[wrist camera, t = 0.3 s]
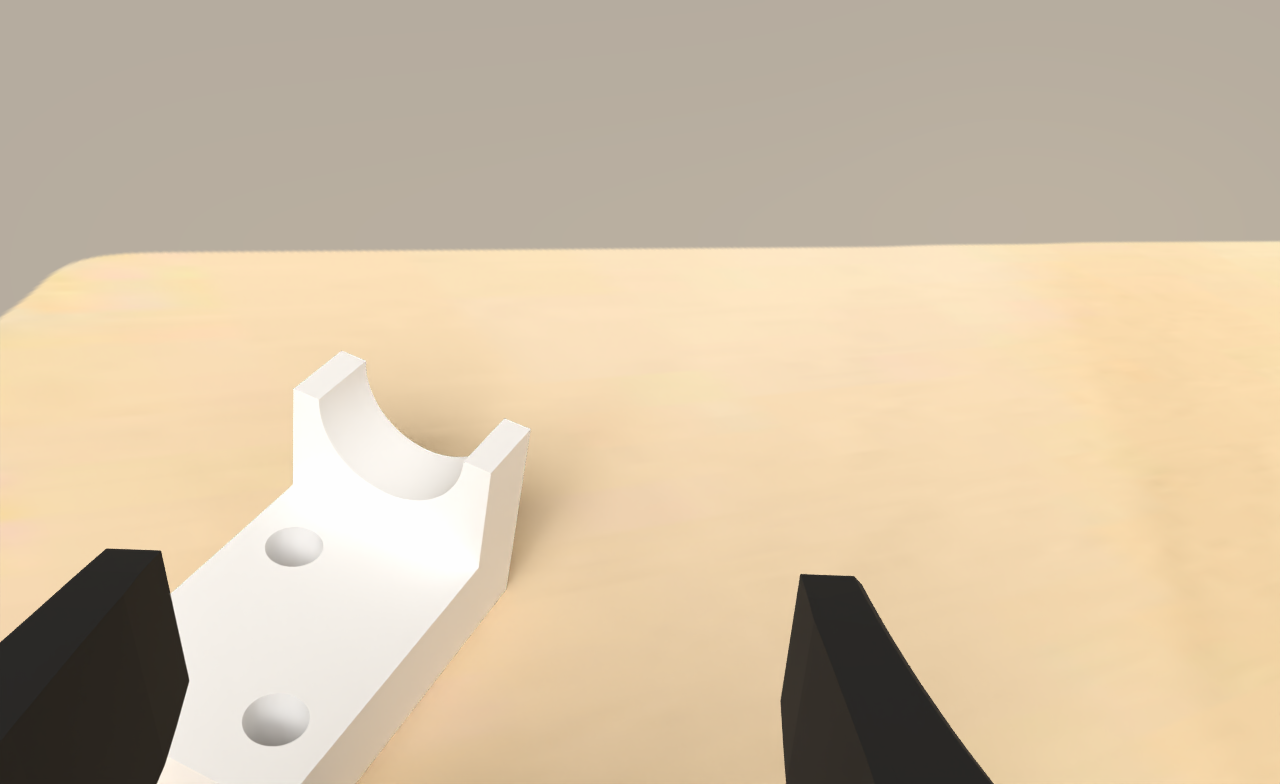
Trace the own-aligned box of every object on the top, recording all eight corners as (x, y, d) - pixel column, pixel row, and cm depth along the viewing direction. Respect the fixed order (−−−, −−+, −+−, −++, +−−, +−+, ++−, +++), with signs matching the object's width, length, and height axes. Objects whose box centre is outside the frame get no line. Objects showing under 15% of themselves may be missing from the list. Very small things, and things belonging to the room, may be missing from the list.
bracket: (335, 518, 45) (341, 350, 40) (505, 594, 43) (530, 429, 39) (68, 778, 35) (37, 591, 30) (276, 891, 33) (276, 712, 29)
